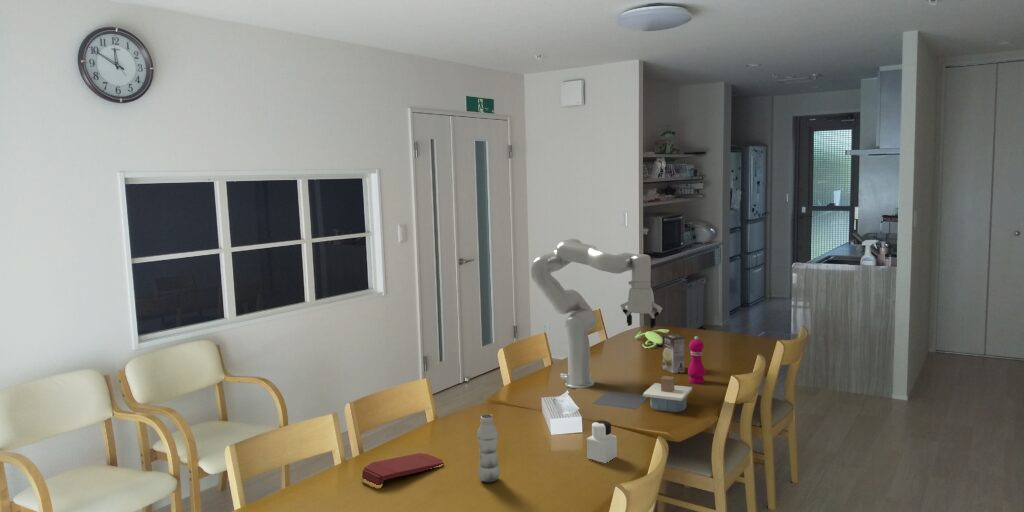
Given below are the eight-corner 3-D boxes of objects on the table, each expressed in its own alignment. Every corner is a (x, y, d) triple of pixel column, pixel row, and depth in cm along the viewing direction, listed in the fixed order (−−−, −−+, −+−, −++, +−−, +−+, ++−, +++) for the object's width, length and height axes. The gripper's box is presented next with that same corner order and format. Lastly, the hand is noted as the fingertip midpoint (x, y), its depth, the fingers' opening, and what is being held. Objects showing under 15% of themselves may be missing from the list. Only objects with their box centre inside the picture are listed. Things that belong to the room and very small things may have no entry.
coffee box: (661, 369, 331) (661, 334, 329) (673, 367, 333) (673, 333, 331) (673, 373, 322) (673, 338, 320) (685, 371, 325) (685, 337, 323)
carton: (421, 467, 239) (358, 480, 221) (422, 452, 239) (359, 464, 221) (445, 477, 231) (381, 492, 213) (446, 461, 231) (382, 475, 213)
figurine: (666, 336, 395) (666, 326, 394) (679, 348, 368) (679, 337, 368) (633, 338, 394) (633, 328, 394) (643, 350, 368) (643, 339, 367)
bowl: (646, 409, 276) (646, 395, 275) (656, 399, 287) (656, 386, 287) (680, 414, 269) (680, 399, 269) (689, 403, 281) (689, 389, 280)
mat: (591, 404, 284) (591, 403, 284) (608, 391, 299) (608, 390, 299) (635, 410, 275) (635, 409, 275) (650, 396, 291) (650, 395, 291)
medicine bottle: (598, 452, 236) (597, 417, 235) (617, 457, 231) (616, 421, 230) (586, 459, 231) (585, 423, 229) (605, 464, 226) (604, 427, 225)
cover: (642, 396, 275) (642, 380, 274) (654, 385, 288) (654, 370, 287) (681, 400, 268) (681, 385, 267) (692, 389, 281) (692, 374, 280)
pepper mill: (705, 384, 305) (705, 338, 302) (688, 384, 306) (687, 338, 304) (704, 379, 312) (704, 334, 309) (687, 379, 313) (687, 334, 311)
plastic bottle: (499, 475, 221) (497, 412, 219) (500, 484, 214) (497, 419, 212) (478, 476, 221) (476, 413, 219) (478, 485, 214) (475, 420, 212)
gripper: (617, 285, 293) (617, 326, 295) (659, 287, 285) (658, 330, 287) (624, 282, 299) (624, 322, 302) (664, 284, 291) (664, 326, 293)
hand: (641, 326), depth 294 cm, fingers open, 9 cm apart
